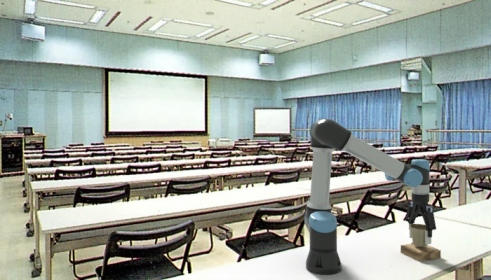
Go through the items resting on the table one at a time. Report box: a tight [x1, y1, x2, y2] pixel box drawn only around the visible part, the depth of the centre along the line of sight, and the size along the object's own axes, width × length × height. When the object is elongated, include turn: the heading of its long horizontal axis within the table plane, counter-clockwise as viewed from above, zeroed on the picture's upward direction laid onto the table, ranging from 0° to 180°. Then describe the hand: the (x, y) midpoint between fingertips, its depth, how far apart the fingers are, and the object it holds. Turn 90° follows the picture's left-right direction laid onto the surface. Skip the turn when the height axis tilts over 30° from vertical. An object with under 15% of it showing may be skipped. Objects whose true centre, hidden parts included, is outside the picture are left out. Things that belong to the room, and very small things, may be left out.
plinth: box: [400, 243, 442, 262], centre depth 177 cm, size 12×12×4 cm
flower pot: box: [408, 223, 430, 247], centre depth 177 cm, size 9×9×9 cm
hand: (420, 240), depth 177 cm, fingers closed on flower pot, 9 cm apart
